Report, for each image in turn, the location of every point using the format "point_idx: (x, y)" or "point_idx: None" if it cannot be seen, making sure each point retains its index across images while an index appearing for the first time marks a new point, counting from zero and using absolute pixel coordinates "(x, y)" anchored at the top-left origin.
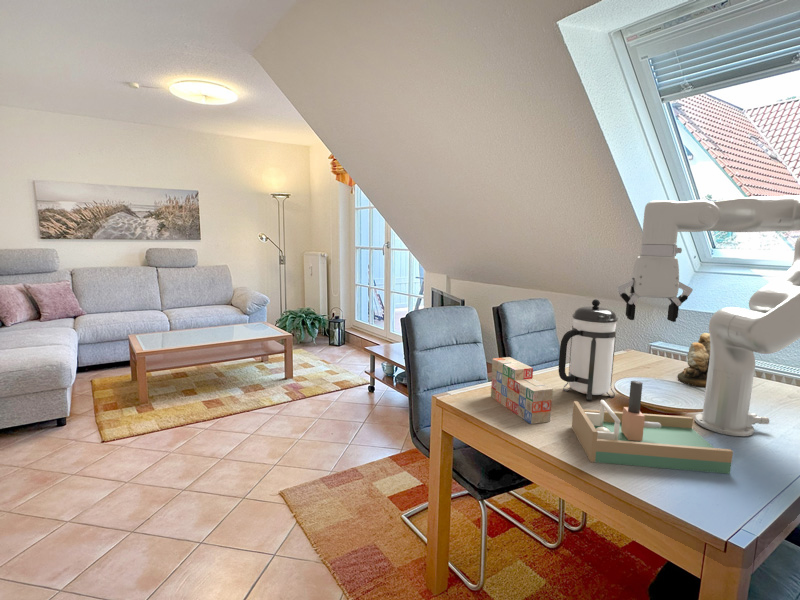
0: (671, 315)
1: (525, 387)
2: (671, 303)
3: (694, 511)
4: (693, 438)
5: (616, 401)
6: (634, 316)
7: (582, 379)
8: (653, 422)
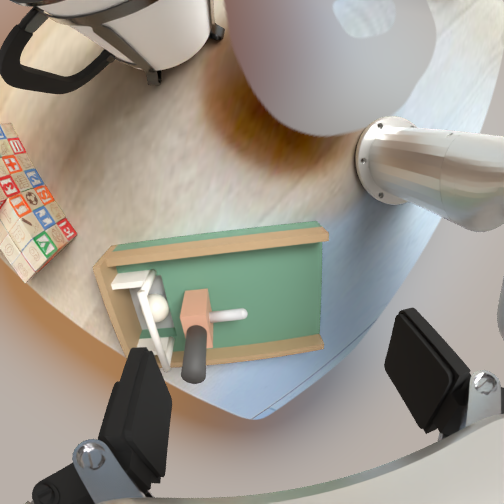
0: (401, 375)
1: (10, 262)
2: (452, 406)
3: (239, 400)
4: (304, 279)
5: (221, 62)
6: (170, 415)
7: (125, 63)
8: (234, 318)
